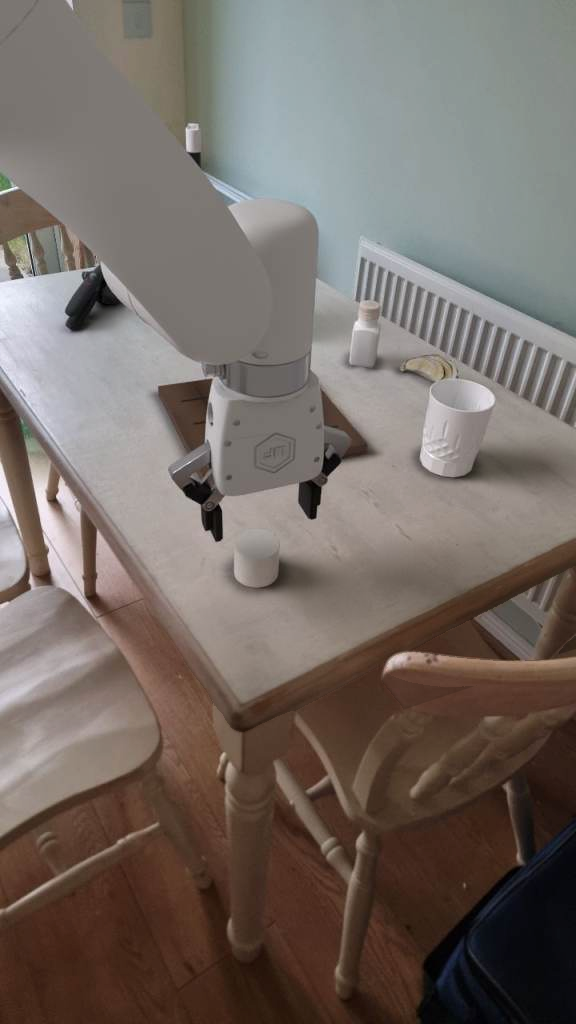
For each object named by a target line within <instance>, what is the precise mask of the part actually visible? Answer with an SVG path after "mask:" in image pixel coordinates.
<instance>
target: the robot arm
mask: <svg viewBox="0 0 576 1024" xmlns="http://www.w3.org/2000/svg"><path fill="white" fill-rule="evenodd" d="M0 174H1V175H3V176H4V177H5V178H6V179H7V180H9V182H11V183H12V184H13V185H14V186H16V187H17V188H18V189H20V190H21V191H22V192H23V193H24V194H26V195H27V196H28V197H29V198H31V199H32V200H34V201H35V202H36V203H37V204H39V205H40V206H41V207H42V208H44V209H45V210H46V211H47V212H48V213H50V214H51V215H52V216H53V217H54V218H56V219H57V220H58V221H59V222H60V223H61V224H62V225H63V226H64V227H66V229H68V230H69V231H70V232H71V233H72V234H73V235H74V236H75V237H76V238H77V239H78V240H79V241H80V242H81V243H82V244H83V245H84V246H85V247H86V248H87V249H88V250H89V251H90V252H91V253H92V254H93V255H94V256H95V257H96V258H97V259H99V261H100V265H101V269H102V273H103V276H104V279H105V281H106V283H107V285H108V286H109V288H110V289H111V291H112V292H113V293H114V294H115V296H116V297H117V298H118V299H119V300H120V301H119V302H121V303H122V304H123V305H124V306H125V307H126V308H128V309H129V310H130V311H131V312H132V313H133V314H135V315H136V316H137V317H138V318H139V319H140V320H141V321H142V322H144V323H145V324H146V325H148V326H149V327H150V328H152V329H153V330H154V331H155V332H156V333H158V335H160V336H161V337H162V338H163V339H164V340H166V342H167V343H168V344H170V345H171V346H172V347H173V348H175V350H177V352H179V353H180V355H183V356H184V357H186V358H188V359H190V360H192V361H194V362H197V363H199V364H201V369H202V373H203V376H204V377H205V378H206V377H212V376H213V377H212V378H213V381H212V385H211V389H210V394H209V400H208V407H207V416H206V430H205V443H204V444H203V445H201V446H199V447H198V448H196V449H195V450H193V451H192V452H190V453H189V454H188V453H187V454H185V455H184V456H182V457H180V458H179V459H178V460H176V461H174V462H173V463H172V464H170V465H168V468H167V471H168V473H169V475H170V478H171V480H172V481H173V482H174V483H175V485H176V486H177V487H178V488H179V489H180V490H181V491H182V493H183V494H184V496H185V497H186V498H187V499H189V500H191V501H193V502H195V503H196V504H198V505H200V520H201V524H202V528H203V530H204V531H205V532H209V531H210V533H211V535H212V537H213V540H214V542H215V543H219V542H222V540H224V527H223V525H224V523H223V522H224V520H223V509H222V507H221V505H220V503H221V501H223V499H224V498H225V497H240V496H245V495H251V494H255V493H259V492H264V491H269V490H273V489H278V488H282V487H287V486H291V485H296V484H298V493H297V494H298V496H297V503H298V505H299V506H300V508H301V509H302V511H303V513H304V515H305V516H306V517H307V518H308V520H310V521H311V520H312V521H313V520H316V519H317V517H318V506H320V505H321V503H322V502H321V501H322V492H323V491H322V490H323V486H326V484H328V481H329V478H328V477H329V476H330V475H331V474H332V473H333V472H334V471H335V470H336V469H337V468H338V467H339V466H340V465H341V463H342V458H341V457H342V456H343V455H344V454H345V452H346V451H347V449H348V447H349V446H350V444H351V442H352V440H351V438H350V437H349V436H348V435H347V433H346V432H345V431H342V430H339V429H335V428H332V427H329V426H325V425H324V420H323V407H322V397H321V390H320V388H321V384H320V379H319V376H318V375H317V374H316V373H314V372H313V371H312V370H311V363H312V351H313V346H312V345H313V331H314V317H315V305H316V303H315V302H316V290H317V289H316V288H317V273H318V260H319V259H318V258H319V243H320V241H319V240H320V231H319V230H320V229H319V225H318V222H317V219H316V217H315V215H314V214H313V213H312V212H311V211H310V210H309V209H308V208H307V207H305V206H303V205H301V204H298V203H295V202H292V201H289V200H283V199H277V198H252V199H245V200H241V201H237V202H234V203H232V204H229V205H227V203H226V201H224V199H223V197H222V195H221V194H220V193H219V191H218V190H217V188H216V187H215V185H214V184H213V183H212V182H211V180H210V179H209V178H208V176H207V175H206V173H205V172H204V171H203V170H202V168H201V169H200V167H199V166H198V165H197V163H196V162H195V161H194V160H193V158H192V157H191V156H190V155H189V154H188V152H187V151H186V148H185V147H184V146H183V145H182V144H181V143H180V141H179V140H178V139H177V138H176V137H175V135H174V134H173V133H172V132H171V131H170V130H169V128H168V127H167V126H166V125H165V124H164V123H163V121H162V120H161V119H160V118H159V117H158V116H157V114H156V113H155V112H154V110H152V109H151V106H149V105H148V103H147V102H146V101H145V100H144V98H143V97H142V95H140V93H139V91H138V90H137V89H136V88H135V87H134V85H133V84H132V83H131V82H130V80H129V79H128V78H127V76H126V75H125V74H124V73H123V72H122V71H121V70H120V69H119V67H118V66H117V65H116V64H115V63H114V61H113V60H112V59H111V58H110V57H109V56H108V55H107V54H106V52H105V51H104V50H103V49H102V48H101V47H100V45H99V44H98V43H97V42H96V41H95V39H94V38H93V36H92V35H91V33H89V31H88V30H87V28H86V26H85V25H84V24H83V22H82V21H81V20H80V18H79V16H78V15H77V14H76V12H75V11H74V9H73V8H72V7H71V5H70V4H69V2H68V0H0ZM324 443H326V444H329V446H328V447H329V448H327V449H326V450H324ZM315 458H316V459H315ZM206 465H207V468H208V469H209V471H208V472H207V473H206V475H205V476H204V477H203V478H202V480H200V481H198V480H196V479H194V478H193V477H191V476H192V475H194V474H195V473H197V472H196V471H198V470H199V469H201V468H203V467H204V466H206Z"/></svg>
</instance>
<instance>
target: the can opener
mask: <svg viewBox="0 0 576 1024" xmlns="http://www.w3.org/2000/svg"><path fill="white" fill-rule="evenodd" d="M81 279H82V282H81V284H80V285H79V286H78V288H77V289H76V291H74V293H73V294H72V296H71V298H70V299H69V301H68V303H67V305H66V307H65V308H64V314H65V315H66V316H68V318H67V320H66V322H65V324H64V325H65V327H66V328H68V329H69V330H77V329H79V328H80V327H81V326H82V325H83V323H84V322H85V321H86V320H87V318H88V317H89V315H90V313H92V311H93V308H94V307H95V306H96V304H97V303H98V301H100V300H101V303H102V304H106V305H107V304H108V305H117V304H118V303H119V302H121V301H120V300H119V299H118V298H117V297H116V296H115V294H114V293H113V292H112V291H111V289H110V288H109V286H108V285H107V283H106V281H105V279H104V276H103V273H102V269H101V264H99V265H97V266H95V268H94V269H93V270H90V271H89V270H88V271H87V270H85V271H83V270H82V272H81Z"/></svg>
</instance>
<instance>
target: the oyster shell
mask: <svg viewBox="0 0 576 1024" xmlns="http://www.w3.org/2000/svg"><path fill="white" fill-rule="evenodd" d="M399 371H401V372H403V373H404V372H411V373H415V374H417V375H419V376H421V377H423V378H426V379H427V380H428V381H430V382H432V383H433V384H434V383H435V382H437V381H440V380H444V379H459V375H458V373H459V369H458V367H457V365H456V362H455V361H453V360H451V359H449V358H447V357H446V356H443V355H440V354H435V353H434V354H422V355H420V356H416V357H412V358H410V359H407V360H404V361H403V362H402V363H401V365H400V367H399Z"/></svg>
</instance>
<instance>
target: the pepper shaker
mask: <svg viewBox="0 0 576 1024" xmlns="http://www.w3.org/2000/svg"><path fill="white" fill-rule="evenodd" d="M381 307H382V306H381V303H380V302H379V301H375V300H370V299H369V300H368V299H367V300H366V299H365V300H361V301H360V302H359V305H358V312H357V317H358V318H357V320H355V321H354V324H353V327H352V334H351V335H352V336H351V343H350V352H349V359H348V362H349V365H352V366H356V367H364V368H373V367H374V366H375V365H376V361H377V356H378V349H379V343H380V336H381V328H382V324H381V323H379V319H380V314H381V310H382V309H381Z"/></svg>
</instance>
